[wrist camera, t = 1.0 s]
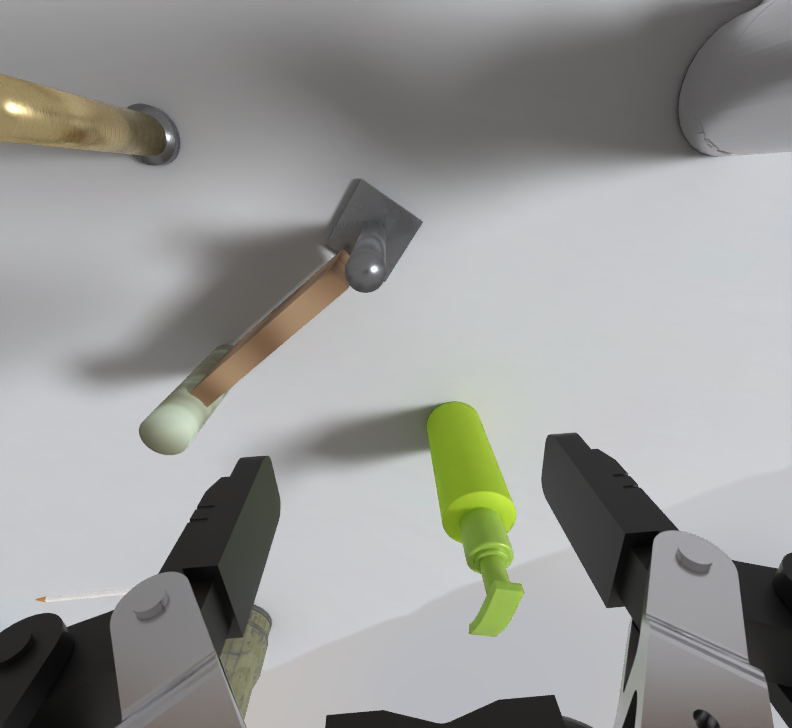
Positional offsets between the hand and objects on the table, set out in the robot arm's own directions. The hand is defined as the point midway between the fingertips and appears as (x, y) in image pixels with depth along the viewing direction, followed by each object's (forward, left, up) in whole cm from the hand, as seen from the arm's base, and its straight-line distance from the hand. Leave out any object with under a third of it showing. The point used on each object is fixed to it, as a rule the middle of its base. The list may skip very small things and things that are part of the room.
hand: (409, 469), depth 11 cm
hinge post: (-2, -3, -26) cm, 26 cm away
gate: (+8, -7, -25) cm, 27 cm away
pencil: (+59, -10, -27) cm, 66 cm away
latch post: (+1, -21, -26) cm, 34 cm away
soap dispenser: (+11, +15, -26) cm, 32 cm away
